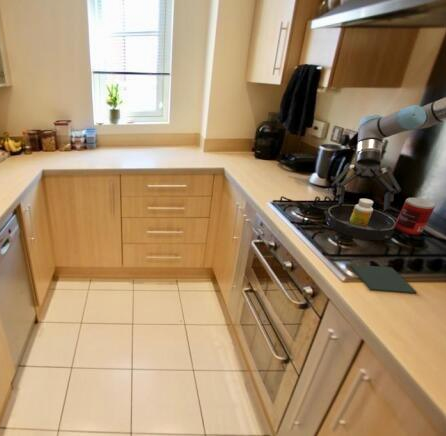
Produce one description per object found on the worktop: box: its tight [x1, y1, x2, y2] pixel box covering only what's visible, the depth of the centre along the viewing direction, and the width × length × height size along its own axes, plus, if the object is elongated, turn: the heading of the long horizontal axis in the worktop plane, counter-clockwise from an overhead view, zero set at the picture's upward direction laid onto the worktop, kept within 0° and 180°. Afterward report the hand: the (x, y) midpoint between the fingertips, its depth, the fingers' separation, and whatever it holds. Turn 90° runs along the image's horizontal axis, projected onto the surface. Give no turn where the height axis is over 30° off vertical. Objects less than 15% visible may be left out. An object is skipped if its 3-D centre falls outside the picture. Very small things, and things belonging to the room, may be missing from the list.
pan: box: [324, 204, 396, 242], centre depth 115 cm, size 20×20×4 cm
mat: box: [350, 264, 417, 295], centre depth 89 cm, size 11×11×1 cm
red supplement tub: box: [395, 197, 436, 236], centre depth 110 cm, size 8×8×11 cm
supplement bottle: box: [349, 198, 374, 228], centre depth 113 cm, size 5×5×10 cm
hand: (363, 207), depth 113 cm, fingers open, 13 cm apart
